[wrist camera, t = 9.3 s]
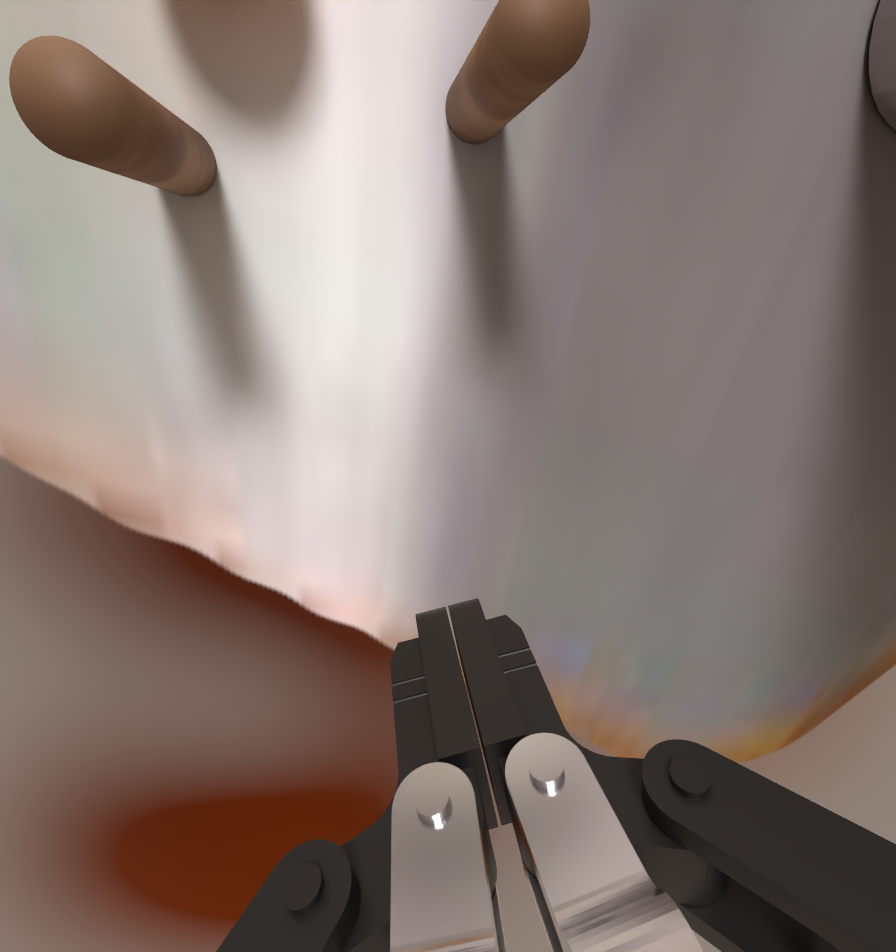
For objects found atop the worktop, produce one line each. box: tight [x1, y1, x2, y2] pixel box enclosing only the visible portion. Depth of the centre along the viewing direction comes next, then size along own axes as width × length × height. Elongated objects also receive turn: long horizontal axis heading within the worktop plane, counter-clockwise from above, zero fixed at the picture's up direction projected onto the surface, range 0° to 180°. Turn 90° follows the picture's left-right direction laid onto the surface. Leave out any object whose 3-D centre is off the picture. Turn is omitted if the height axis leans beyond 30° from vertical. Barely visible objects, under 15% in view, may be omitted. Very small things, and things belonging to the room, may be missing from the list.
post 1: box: [9, 36, 216, 196], centre depth 16 cm, size 3×3×9 cm
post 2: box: [446, 0, 590, 144], centre depth 17 cm, size 3×3×9 cm
